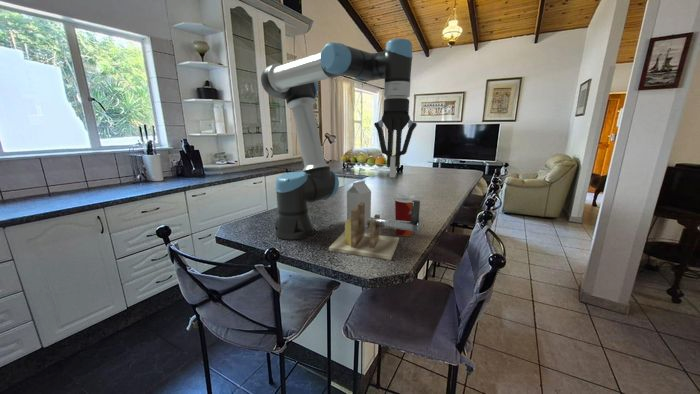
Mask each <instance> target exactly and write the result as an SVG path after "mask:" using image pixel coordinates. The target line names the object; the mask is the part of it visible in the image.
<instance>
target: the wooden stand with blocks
mask: <svg viewBox="0 0 700 394" xmlns="http://www.w3.org/2000/svg"><path fill="white" fill-rule="evenodd" d="M373 218H381V214H375V215H374V217H373ZM364 223H365V203H363V202H361V203H359V204H358V208H354V209H352V210H351V245H345V231H343V232H342V233H341V235H339V236H338V238H337V239H336V240H335V241H333V243H332V244H330V246H329V247H328V251H329V252H335V253H342V254H349V255H354V256H362V257H367V258H368V257H369V258H375V259H382V260H388V261H392V259H393V257H394V253H395V251H396V249H397V246H398V244H399V242H400V237H398V236H397V237H395V236H390V235H389V236H388V235H380V228H381V227H376V220H371V221H370V226H369V233H366V232H365V228H364Z"/></svg>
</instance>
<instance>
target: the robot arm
mask: <svg viewBox="0 0 700 394" xmlns="http://www.w3.org/2000/svg"><path fill="white" fill-rule="evenodd" d="M384 49H385V50H384V51H380V52H379V51H378V52H369V51H364V50H362V49H359V48H355V47H352V46H348V45H346V44H344V43H340V42H333V41H331V42H327V43H326V44H325V46H323V47H322V49H321V51H320V52H317V53H314V54H311V55H307V56H305V57H302V58H298V59H296V60H292V61H290V62H289V61H288V62H287V63H284V64H282V63H279V62H277V63H272V64H269V65H268V66H266V67H265V68H264V69H263V70H262V73H261V76H260V83H261V86H262V88H263V90H264V91H265V92H266V93H267V94H268V95H269V96H270V97H272V98H274V99H275V98H276V99H279V100H280V99H281V100H285V101H286V102H285V103H286V105H287V107H288V108H289V109H290V110H292V115H293V116H292V117H293V120H294V124H295V129H296V134H297V138H298V143H299V146H300V147H299V148H300V152H301V156H302V160H303V161H302V162H303V165H304V167H303V169H302V171H293V172H292V171H291V172H286V173H283V174H281V175H278V177H276V180H275V191H276V192H275V193H276V205H277V206H276V207H277V216H276V217H277V218H276V221H275V225H274V229H273V230H274V236H275V237H276V238H279V239H281V240H290V241H291V240H300V239H304V238H308V237H309V236H311V235H312V234H314V231H315V230H314V224H313V222H312V218H311V216H310V212H309V205H310V204H312V203H317V202H321V201H322V202H323V201H326V200H329V199H331V198H333V197H335V196H336V195H337V192H338V190H339V187H340V180H339V176H338V175H337V174H336V173H335V171H333V170H331V167H330V165H329V164H328V163H326V160H325V157H324V151H323V147H322V143H321V138H320V137H321V136H320V133H319V129H318V128H319V127H318V124H317V120H316V116H315V111H314V110H315V109H314V105H315V103H316V99H317V97H318V95H319V94H318V92H319V84H318V82H319V81H320V82H321V81H325V80H329V79H333V78H337V77H343V76H346V77H350V78H354V79H355V80H356V81H357V82H370V81H371V82H372V81H378V80H384V86H383V87H384V89H383V90H384V91H383V96H384V98H385V99H384V100H383V111H382V112H383V113H382V116H381V119H380V120H379V121H377V122H374V124H373V125H374V127H375V129H376V131H377V136H378V140H379V142H378V143H379V145H380V146H379V147H380V153H381V154H384V155H386V156H387V157H386V158H387V159H386V165H387V167H389V178H395V177H396V176H397V168H398V167H399V166H400V163H401V157H402V156H403V155H405V154H407V152H408V149H409V145H410V143H411V139H412V135H413V133H414V130H415V129H416V127H417V125H418V123H416V122H414V121H412V120H411V117H410V114H409V113H410V112H409V111H410V99H409V98H410V96H411V74H412V64H413V63H412V61H413V43H412V41H411V40H410V39H408V38H400V37H399V38H392V39H389V40H388V41H387V42H386V44H385V48H384ZM384 126H385V128H386V129H387V144H386V139H385V135H384V129H383V127H384ZM406 126H407V127H408V129H407V132H406V136H405V140H404V142H403V145H402V134H403V129H405V127H406ZM395 131H396V133H395V134H396V138H395V154H393V150H394V149H393V147H394V132H395Z"/></svg>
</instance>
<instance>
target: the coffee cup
mask: <svg viewBox="0 0 700 394" xmlns="http://www.w3.org/2000/svg"><path fill="white" fill-rule="evenodd" d="M393 200H394V206H395V207H394V208H395V209H394V213H395V214H394V215H395V217H394V218H395V219H394V220H401V221H411V215H412V201H413V200H417V199H416V196H415V195H413V194H410V193H409V194H408V193H399V194H395V197H394V199H393ZM412 232H413V231H409V230H400V229H395V235H398V236H401V237H409V236H411V235H412Z"/></svg>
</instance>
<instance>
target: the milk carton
mask: <svg viewBox="0 0 700 394" xmlns="http://www.w3.org/2000/svg"><path fill="white" fill-rule="evenodd" d="M361 202H363V203H365V223H364V229H365V228H368V227H369V226H368V225H367V220H368V217H371V215H372V213H371V212H372V190H371V189H370V188H369V186H367V184H366V181H365V180H361V181H357V182H352V186H351V187H350V188H349V189H348V190H347V191H346V221H347V220H348V219H349V218H350V217H351V210H352V209H354V208H358V204H359V203H361Z"/></svg>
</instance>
